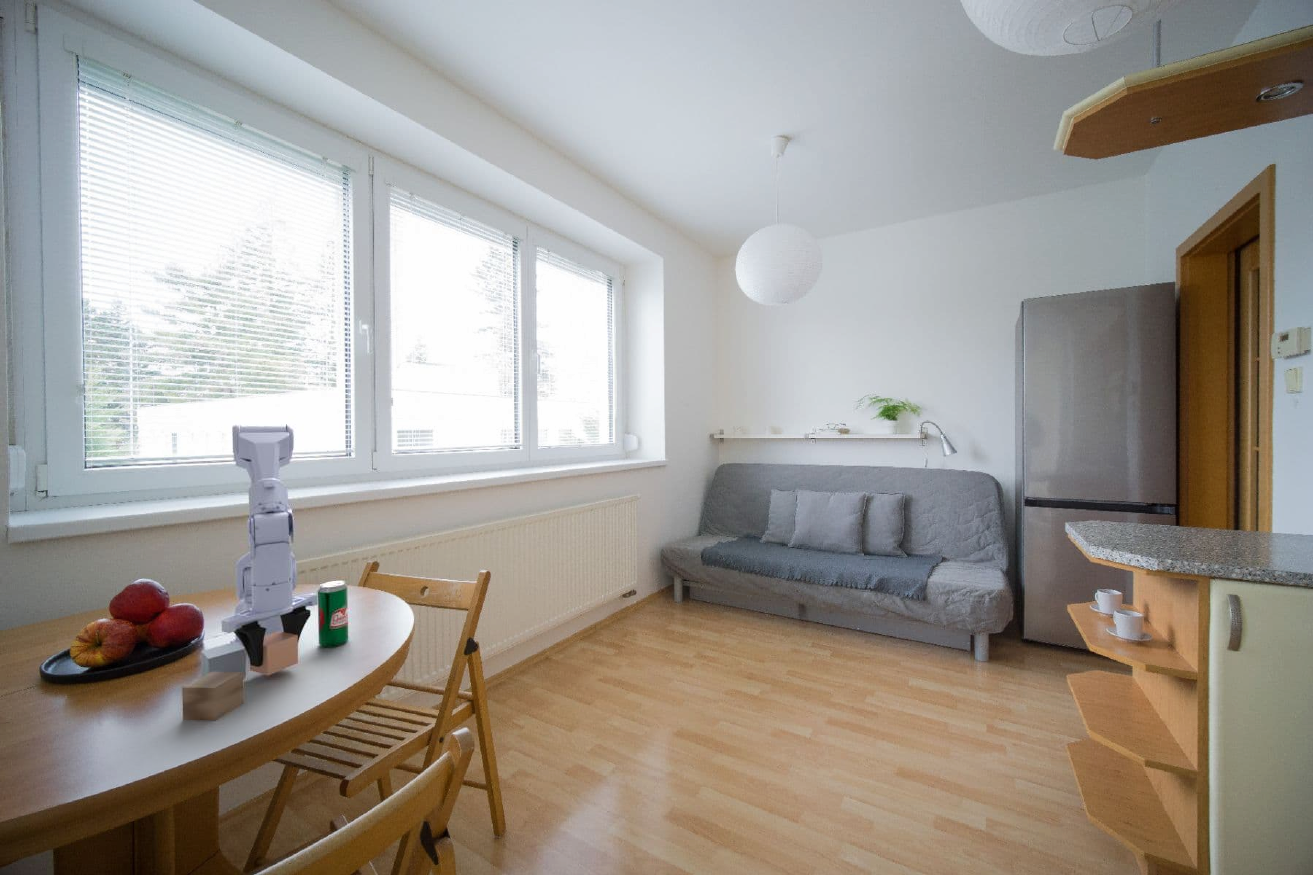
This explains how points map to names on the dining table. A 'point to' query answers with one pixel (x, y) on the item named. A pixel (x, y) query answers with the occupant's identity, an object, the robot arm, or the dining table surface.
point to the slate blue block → (224, 659)
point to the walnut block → (212, 696)
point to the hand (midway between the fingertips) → (273, 658)
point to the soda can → (332, 614)
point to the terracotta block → (278, 653)
